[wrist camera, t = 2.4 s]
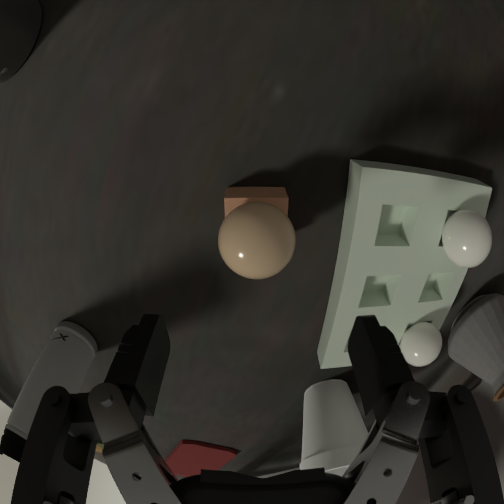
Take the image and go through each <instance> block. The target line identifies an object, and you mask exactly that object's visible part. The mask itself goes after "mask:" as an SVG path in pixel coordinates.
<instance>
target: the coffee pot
mask: <svg viewBox="0 0 504 504" xmlns="http://www.w3.org/2000/svg"><path fill="white" fill-rule="evenodd" d="M448 354H449V356H450V358H451V359H453V360H454V361H456V362H457V363H459V364H460V365H462V366H463V367H465V368H466V369H468V370H469V371H471V372H472V373H474V374H475V375H477V376H478V377H480V378H481V379H483V380H484V381H486V382H487V383H489V384H490V385H492V386H493V390H494V394H495V396H494V398H493V400H494V401H498V400H500V399H502V398H503V397H504V295H501V294H497V293H494V294H487V295H481V296H478V297H476V298H475V299H473V300H472V301H470V302H469V303H468V304H467V305H466V306H465V307H464V308H463V309H462V310H461V311H460V312H459V314H458V315H457V317H456V318H455V320H454V322H453V324H452V327H451V332H450V335H449V339H448Z"/></svg>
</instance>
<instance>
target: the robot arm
mask: <svg viewBox="0 0 504 504" xmlns="http://www.w3.org/2000/svg"><path fill="white" fill-rule="evenodd" d="M41 20H42V8H41V5H40V3H39V2H38V0H0V82H3V81H5V80H8V79H9V78H10V77H12V76H13V75H14V74H15V73H16V72H17V71H18V70H19V69H20V67H21V66H22V64H23V63H24V62H25V60H26V59H27V57H28V55H29V54H30V52H31V50H32V48H33V46H34V44H35V41H36V39H37V36H38V33H39V30H40V26H41ZM169 353H170V339H169V336H168V332H167V329H166V325H165V321H164V318H163V316H162V315H154V314H144V315H143V317H142V319H141V322H140V324H139V326H138V325H133V326H132V327H131V328H130V329H129V330H128V331H127V332H126V333H125V334H124V336H123V339H122V341H121V345H119V348H118V350H117V352H116V355H115V357H114V359H113V362H112V364H111V366H110V369H109V371H108V374H107V376H106V379H105V381H104V383H101V384H98V385H96V386H95V387H94V388H93V389H92V390H91V391H90V392H88V393H77V394H70V393H69V392H68V391H67V390H66V389H65V388H64V387H62V386H53V387H50V388H49V389H47V390H46V391H45V393H44V394H43V396H42V399H41V401H40V404H39V406H38V409H37V411H36V414H35V417H34V420H33V422H32V425H31V428H30V431H29V434H28V437H27V440H26V443H25V447H24V450H23V453H22V457H21V460H20V464H19V468H18V472H17V476H16V480H15V485H14V489H13V494H12V500H11V504H86V498H87V492H88V486H89V480H90V475H91V469H92V464H93V460H94V455H95V450H96V446H97V442H98V440H102V442H103V445H104V449H102V454H103V457H104V459H105V462H106V464H107V466H108V468H109V471H110V473H111V475H112V477H113V479H114V481H115V483H116V485H117V487H118V489H119V491H120V493H121V494H122V496H123V498H124V500H125V502H126V504H395V503H396V501H397V499H398V497H399V495H400V493H401V491H402V489H403V487H404V485H405V483H406V481H407V479H408V476H409V474H410V472H411V469H412V467H413V465H414V462H415V459H416V457H417V454H418V451H419V445H420V449H421V454H422V458H423V463H424V467H425V473H426V478H427V484H428V489H429V496H430V503H431V504H504V499H503V494H502V488H501V483H500V479H499V474H498V471H497V466H496V463H495V458H494V455H493V452H492V448H491V445H490V442H489V438H488V435H487V432H486V429H485V426H484V424H483V421H482V418H481V415H480V413H479V410H478V407H477V405H476V402H475V400H474V398H473V395H472V393H471V391H470V390H469V389H468V388H466V387H465V386H462V385H455V386H453V387H451V388H450V389H449V390H448V392H447V393H443V392H430V391H428V390H427V388H426V387H425V386H424V385H423V384H421V383H419V382H415V380H414V378H413V376H412V374H411V371H410V369H409V367H408V365H407V362H406V360H405V358H404V356H403V353H401V349H400V347H399V345H398V342H397V340H396V338H395V336H394V334H393V333H392V332H391V331H390V330H389V329H388V328H387V327H386V326H380V324H379V322H378V320H377V318H376V316H375V315H362V316H357V317H356V319H355V322H354V325H353V328H352V331H351V334H350V337H349V340H348V354H349V357H350V361H351V364H352V368H353V371H354V374H355V378H356V381H357V385H358V389H359V392H360V396H361V400H362V403H363V407H364V411H365V415H366V416H368V415H374V414H375V417H376V421H375V422H374V424H373V426H372V428H371V430H370V432H369V434H368V436H367V438H366V440H365V441H364V443H363V445H362V447H361V449H360V451H359V452H358V454H357V456H356V457H355V459H354V460H353V461H352V463H351V464H350V465H349V467H348V468H347V470H346V471H345V473H344V474H343V476H339V475H336V474H331V473H325V469H324V467H322V468H313V469H304V470H294V471H291V472H287V473H284V474H280V475H276V476H272V477H268V478H257V477H253V476H248V475H244V474H240V473H236V472H232V471H218V470H206V469H201V474H199V475H193V476H189V477H186V478H183V479H181V480H179V481H178V479H177V478H176V476H175V475H174V473H173V472H172V470H171V469H170V468H169V466H168V465H167V464H166V462H165V461H164V459H163V458H162V456H161V455H160V453H159V451H158V450H157V448H156V446H155V444H154V443H153V441H152V439H151V437H150V436H149V434H148V432H147V430H146V428H145V426H144V424H143V420H144V416H145V415H147V416H154V412H155V408H156V403H157V399H158V395H159V391H160V387H161V383H162V380H163V376H164V372H165V368H166V364H167V361H168V357H169ZM417 439H418V441H419V445H417V444H416V443H417Z"/></svg>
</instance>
